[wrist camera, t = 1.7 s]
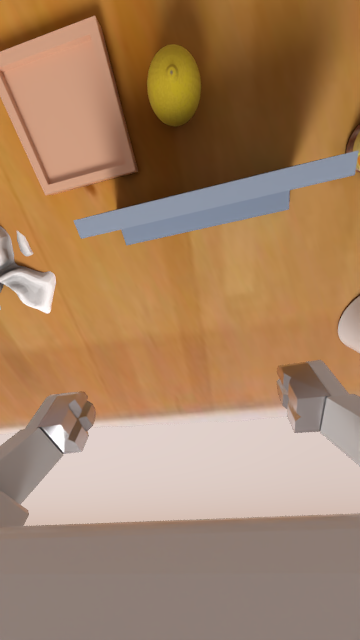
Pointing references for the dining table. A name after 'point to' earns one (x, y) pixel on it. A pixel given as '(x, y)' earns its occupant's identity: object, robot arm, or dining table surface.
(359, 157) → the sauce bottle
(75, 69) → the dish
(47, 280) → the cloth
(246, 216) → the screen
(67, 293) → the dining table surface
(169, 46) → the lemon
